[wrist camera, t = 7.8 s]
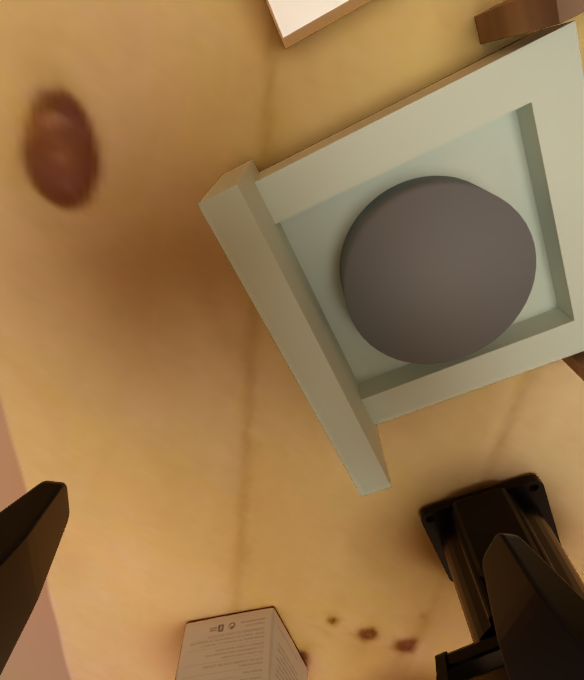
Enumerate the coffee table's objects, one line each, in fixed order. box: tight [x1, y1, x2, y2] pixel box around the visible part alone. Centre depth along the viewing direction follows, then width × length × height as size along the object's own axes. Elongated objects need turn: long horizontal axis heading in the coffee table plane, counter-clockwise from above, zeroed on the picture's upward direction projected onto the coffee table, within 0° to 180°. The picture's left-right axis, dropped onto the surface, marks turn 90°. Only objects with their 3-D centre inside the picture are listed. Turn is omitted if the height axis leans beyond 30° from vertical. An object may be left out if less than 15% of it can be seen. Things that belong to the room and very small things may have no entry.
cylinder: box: [340, 176, 536, 364], centre depth 16 cm, size 6×6×2 cm
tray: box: [197, 20, 584, 497], centre depth 16 cm, size 11×12×5 cm
